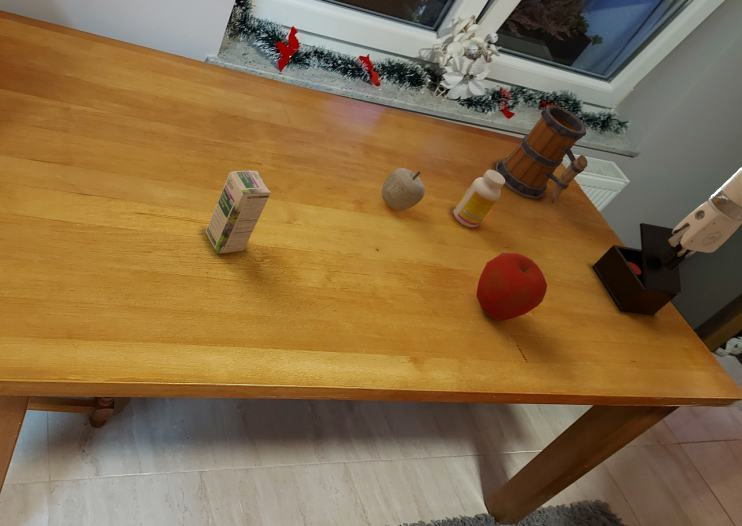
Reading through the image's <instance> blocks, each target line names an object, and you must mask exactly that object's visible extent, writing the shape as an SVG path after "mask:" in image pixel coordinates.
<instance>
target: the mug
mask: <svg viewBox="0 0 742 526" xmlns="http://www.w3.org/2000/svg"><path fill="white" fill-rule="evenodd" d="M540 114H541V116H540V118H539V119H538V121H536V123H535V125H534V126H533V127H532V129H531V130H530V132H529V133H528V134H525V135H524V137H523V138H522V139H521V141H520V142H519V144H518V145H517V146H516V147H515V148H514V150H512V151H511V152H510V153H509V155H508V156H506V157H504V158H503V159H502V160H501V161H499V162H497V163H495V170H494V171H496V172H498V173H500V174H501V175H502V176H503V177H504V179H505V183H504V185H505V186H506V187H508V188H509V189H510V191H512V192H515V193H517V194H519V195H520V196H522V197H525V198H528V199H534V200H537V199H539V198H541V197H543V196H544V194H545V191H547V189H548V186H547V184H548V182H549V181H550V180H552V181H553V182H554V183H555V187H554V189H553V191H552V194H551V204H554V203H555V202H556V200H557V199H558V198H559V196H560V195H561V194H563V191H565V190H567V189H568V187H569V185H570V184H571V182H572V181H573V180H574V179H575V178H576V177H577V176H578V175H580V174H581V173H583V172H584V171H585V169H586V168H587V167H588V159H587V157H586V156H585V155H583V154H581V155H579V156H578V157H577V158H576V157H575V154H574V153H573V151H572V148H573V146H575V144H576V143H577V142H578V141H580V140H581V139H582V138H583V137H585V136H586V135H587V126H586V125H585V124H584V122H583V121H582V120H581V118H579V117H578V116H577V115H576V114H574V113H573V112H571V111H570V110H568V109H565V108H564V107H562V106H557V105H553V104H552V105H551V104H550V105H548V106H546V107H545V108H544V109H542V110H541V112H540ZM565 156H567V158H568V159H569V161H570V163H569V165H568V166H567V168H566V169H565V170H564V171H563V172H562V173H561V175H560V177H558V176H556V175H554V173H555V171H556V170H557V168H558V167H559V166H560V165H561V164H562V162H563V161H564V157H565Z"/></svg>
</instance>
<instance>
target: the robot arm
mask: <svg viewBox="0 0 742 526" xmlns="http://www.w3.org/2000/svg"><path fill="white" fill-rule="evenodd" d="M741 225H742V166H741V167H740V168H739V169H738V170H737V171H736V172H735V173H734V174H732V176H731V177H729V178H728V179H727V180H726V181H725V182H724V183H723V184H722V185H721V186H720V187H719V188H717V190H716V191H715V192H714V193H713V194H711V196H709V198H708V200H706V201H705V202H703V203H702V204H700V205H699V206H698V207H696V208H695V209H694V210H693V211H691V212H690V213H689V214H688V215H687V216H686V217H684V218H683V219H682V220H681V221H680V222H679V223H678V224H677V225H676V226H675V227H674V228H673V229H674V230H673V231H672V234H673V235H674V236H672V237H671V238H670V239H668V242H669V243H670V245H671V248H670V249H669V250H668V251H667V252H666V253H665V254H664V255H663V256H662V257H661V258H660V261H661V263H662V264H663V265H664V267H665V268H666V269H670V270H673V269H674V268H675V267H677V266H678V265H679V266H680V264H681V263H682V262H683V261H685V259H688V258H690V257H691V256H692V255H694V254H695V253H698V252H701V253H705V254H706V253H708V254H712V253H714V252H715V251H717V250H718V249H719V248H720V247H721V246H722V245H723V244H724V243H725V242H727V240H729V238H730V237H731V236H732V235H733V234H734V233H735V232H736V231H737V230H738V229H739V228H740V226H741Z"/></svg>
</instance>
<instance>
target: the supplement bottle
mask: <svg viewBox="0 0 742 526" xmlns="http://www.w3.org/2000/svg"><path fill="white" fill-rule="evenodd" d="M504 183H505V179H504V177H503V176H502V175H501V174H500V173H498V172H496V171H495V170H494V169H487V170H486V171H485V172H484V174H483V176H481V177H480V176H479V177H477V178H476V179H474V180H473V182H472V183H471V185H470V186H469V188H468V189H467V190H466V191H465V193H464V195H462V197H461V199H459V201H458V202H457V204H456V206H455V207H454V209H453V215H454V218H455V219H456V220H457V221H458V222H459V223H460V224H461V225H463V226H465V227H467V228H476V227H478V226H479V225H480V224H481V223H482V221H483V220H484V219H485V217H486V216H487V215H488V213H489V212H490V210H491V209H493V207H494V206H495V204H496V203H497V201H498V200H499V199H500V198H501V194H502V191H501V188H502V187H503V186H504V185H505V184H504Z"/></svg>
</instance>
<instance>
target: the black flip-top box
mask: <svg viewBox="0 0 742 526" xmlns="http://www.w3.org/2000/svg"><path fill="white" fill-rule="evenodd" d="M628 262H632V263H634V264H635V265H636V266H638V267H639V269H640V270H641V274H640V275H639V276H638V277H637V275H636V274H635V272H634V271H633V269H632V268H631V266H630V265H629V264H628ZM591 268H592V270H593V272H594V273H595V275H596V276H597V278H598V279H599V281H600V282H601V284H602V285H603V287H604V289H605V290H606V292H607V294H608V296H609V297H610V298H611V300H612V301H613V303H614V304H615V306H616V308H617V309H618V311H619V312H621V313H629V314H630V313H631V314H639V315H646V316H655V315H656V314H657V313H658V312H660V310H662V309H663V308H664V307H665V306H666V305H667V304H668V303H670V302H671V301H672V300H674V298H676V297H677V296H678V294H679V293H675V292H668V291H660V290H653V289H646V288H644V278H643V264H642V250H641V248H635V247H630V246H623V245H618V244H613V245H612V246H611V247H609V249H607V251H606V252H605V253H603V255H602V256H601V257H599V259H597V261H596V262H595V263H594V264H593V265H592V266H591Z"/></svg>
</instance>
